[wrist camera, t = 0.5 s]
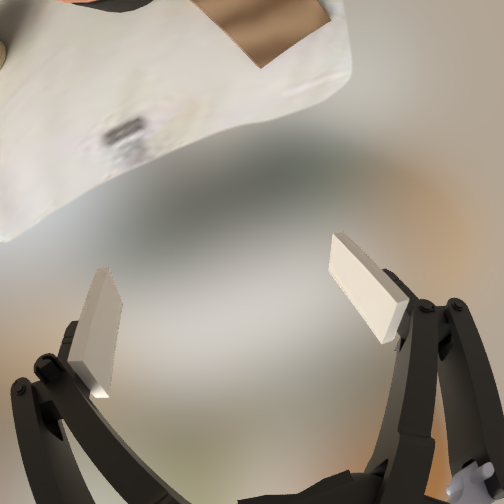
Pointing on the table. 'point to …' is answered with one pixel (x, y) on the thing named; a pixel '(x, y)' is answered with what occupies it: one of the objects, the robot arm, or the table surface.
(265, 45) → the walnut board
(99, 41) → the table surface
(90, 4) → the coffee jar
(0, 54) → the flower pot
